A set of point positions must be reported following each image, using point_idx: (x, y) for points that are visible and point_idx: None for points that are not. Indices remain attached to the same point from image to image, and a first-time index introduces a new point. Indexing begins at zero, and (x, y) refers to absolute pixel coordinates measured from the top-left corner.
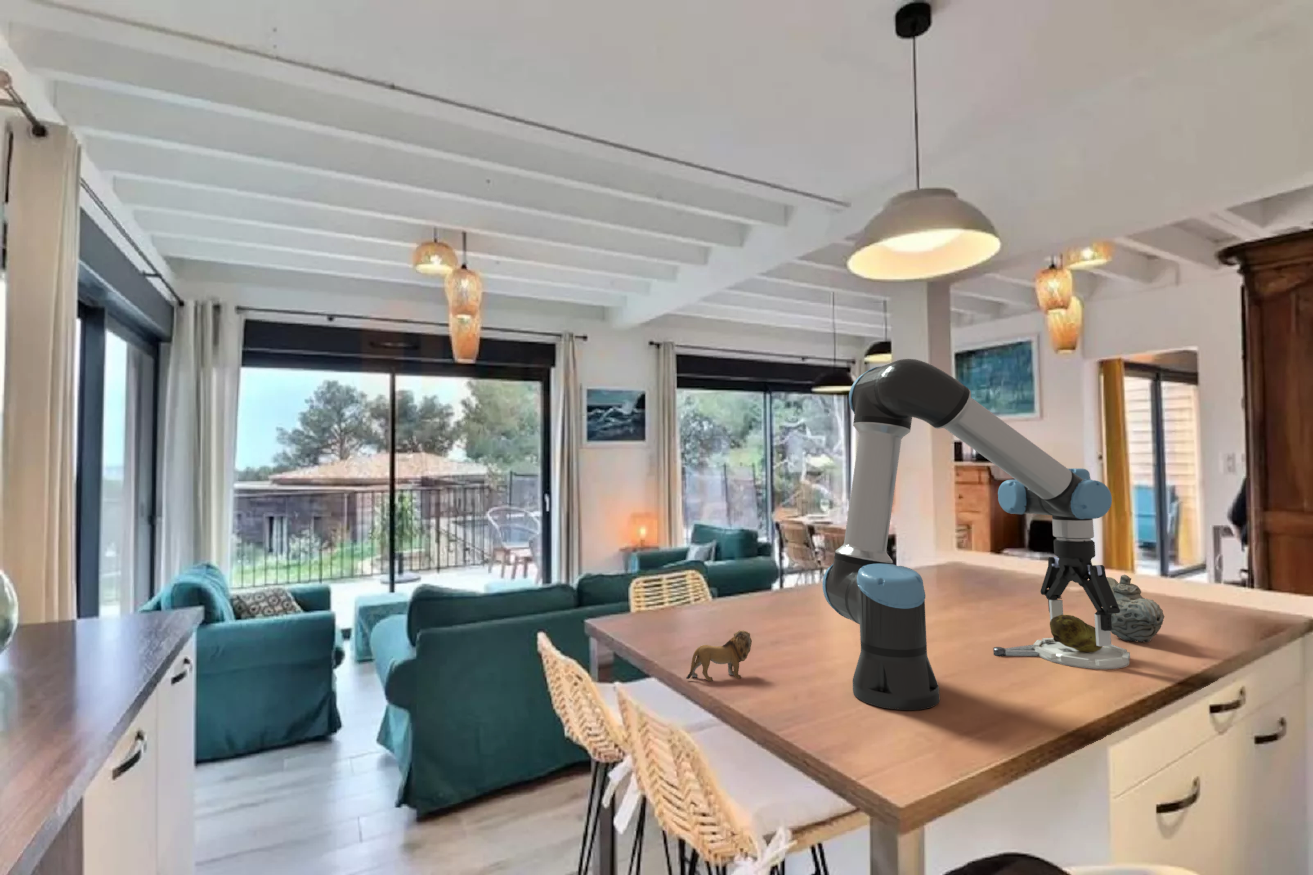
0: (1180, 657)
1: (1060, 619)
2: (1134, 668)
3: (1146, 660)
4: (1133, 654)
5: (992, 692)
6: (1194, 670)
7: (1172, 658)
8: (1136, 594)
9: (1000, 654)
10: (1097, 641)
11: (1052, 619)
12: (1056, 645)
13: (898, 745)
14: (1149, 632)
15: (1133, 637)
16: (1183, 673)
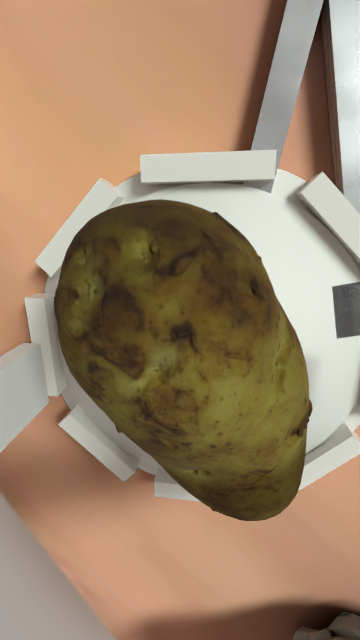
0: (150, 596)
1: (122, 264)
2: (59, 411)
3: (134, 503)
4: (199, 520)
5: None
6: (38, 533)
7: (144, 573)
8: None
9: None
10: (17, 352)
11: (204, 238)
12: (310, 315)
13: None
14: None
15: (310, 633)
16: (12, 491)
